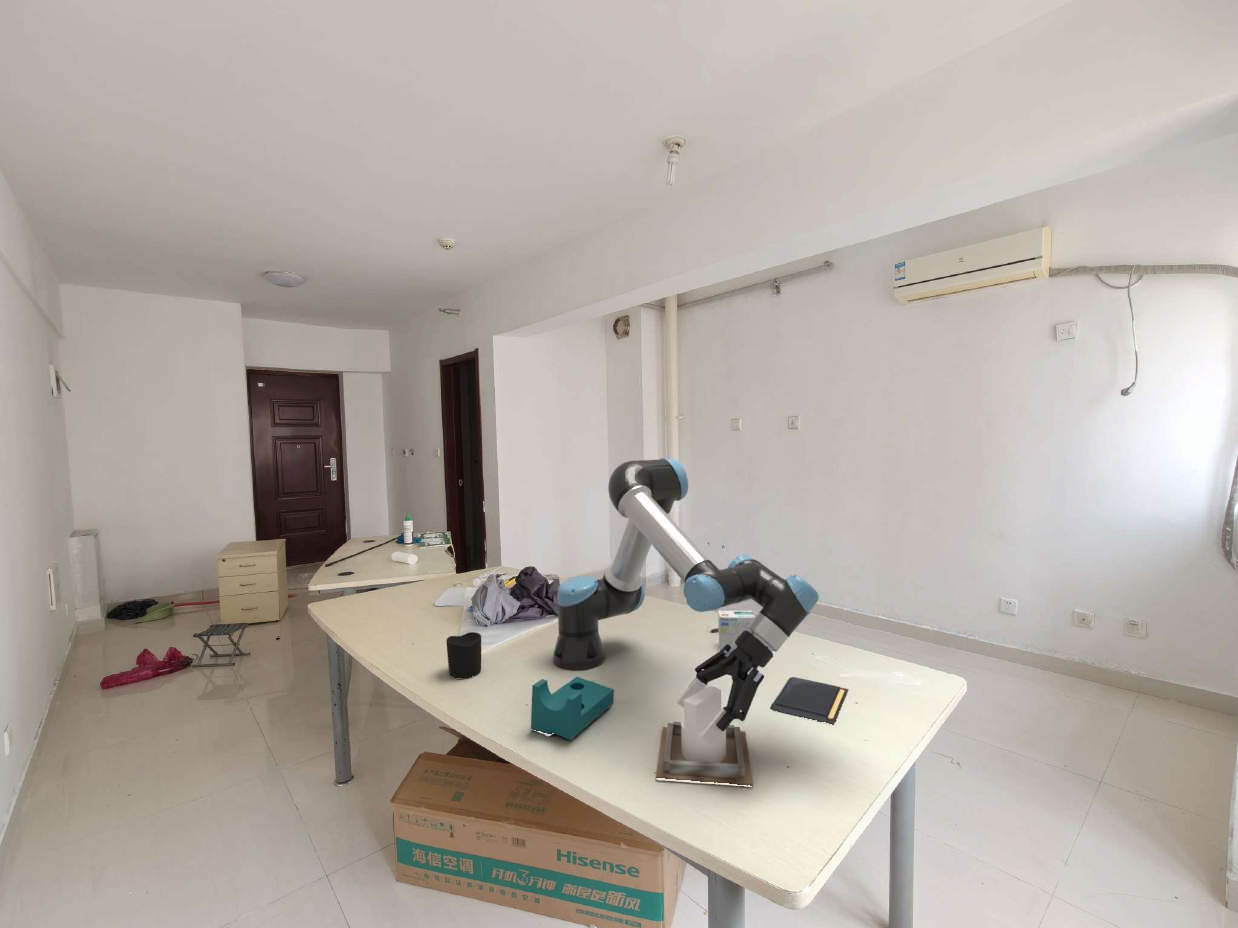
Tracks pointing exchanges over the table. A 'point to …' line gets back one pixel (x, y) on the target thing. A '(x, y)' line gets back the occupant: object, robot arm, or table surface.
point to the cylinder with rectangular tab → (702, 727)
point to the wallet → (810, 700)
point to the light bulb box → (732, 626)
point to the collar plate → (727, 771)
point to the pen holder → (464, 655)
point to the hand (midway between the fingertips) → (692, 721)
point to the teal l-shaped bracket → (568, 706)
